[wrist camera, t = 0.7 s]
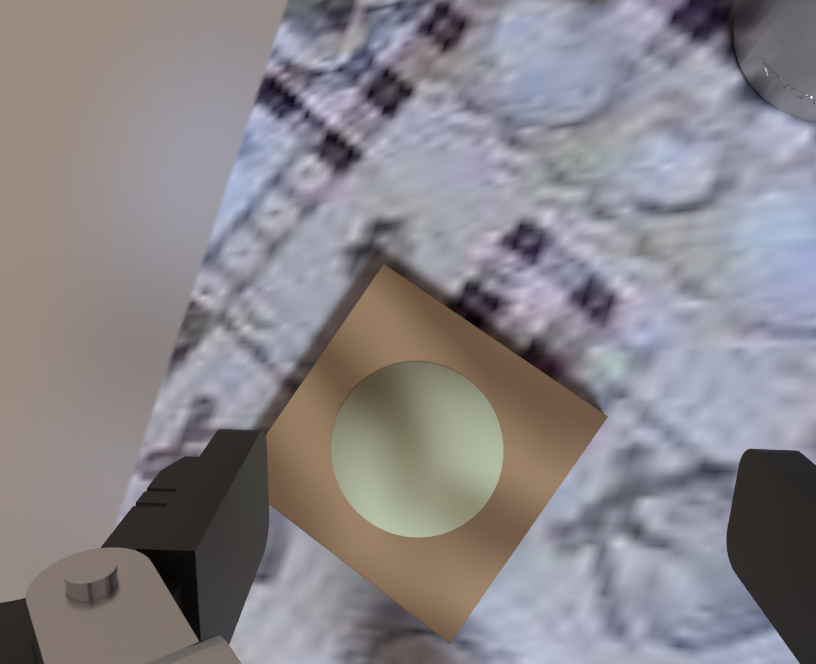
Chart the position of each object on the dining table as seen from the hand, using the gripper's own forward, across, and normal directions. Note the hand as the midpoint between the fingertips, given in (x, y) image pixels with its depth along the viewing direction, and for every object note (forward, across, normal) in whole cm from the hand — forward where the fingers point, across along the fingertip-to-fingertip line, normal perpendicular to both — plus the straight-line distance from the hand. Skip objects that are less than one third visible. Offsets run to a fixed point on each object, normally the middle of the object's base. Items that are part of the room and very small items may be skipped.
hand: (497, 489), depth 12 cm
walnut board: (+21, +1, +9) cm, 23 cm away
